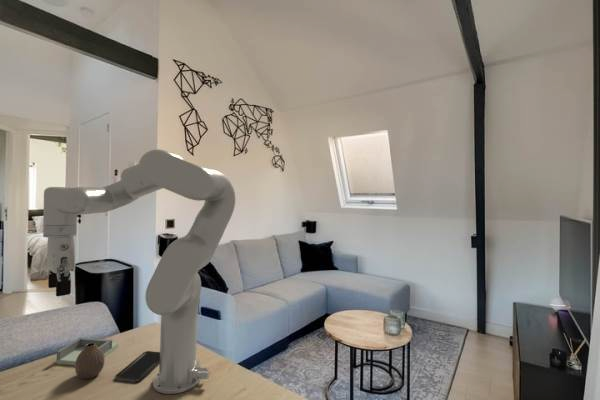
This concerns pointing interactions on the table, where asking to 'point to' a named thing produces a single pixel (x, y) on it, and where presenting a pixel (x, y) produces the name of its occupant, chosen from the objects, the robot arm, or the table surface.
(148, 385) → the table surface
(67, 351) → the grey-green shallow square tray
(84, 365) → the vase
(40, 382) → the table surface
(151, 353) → the phone
